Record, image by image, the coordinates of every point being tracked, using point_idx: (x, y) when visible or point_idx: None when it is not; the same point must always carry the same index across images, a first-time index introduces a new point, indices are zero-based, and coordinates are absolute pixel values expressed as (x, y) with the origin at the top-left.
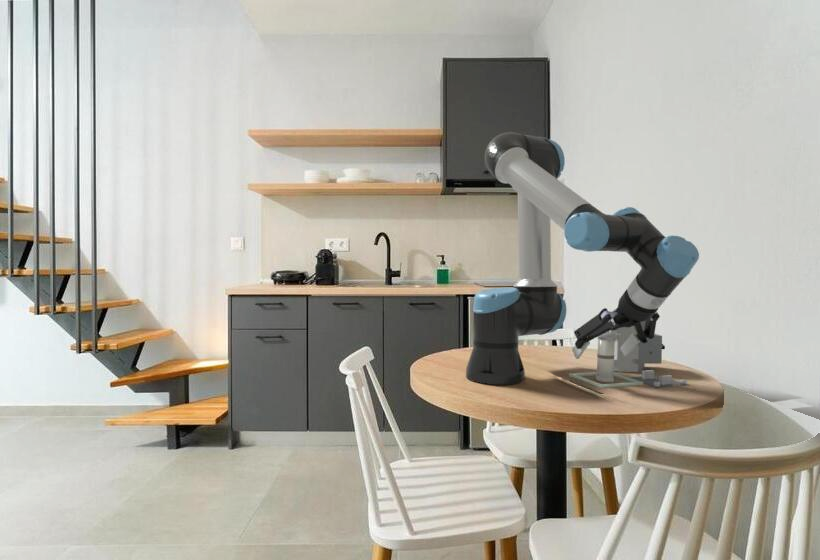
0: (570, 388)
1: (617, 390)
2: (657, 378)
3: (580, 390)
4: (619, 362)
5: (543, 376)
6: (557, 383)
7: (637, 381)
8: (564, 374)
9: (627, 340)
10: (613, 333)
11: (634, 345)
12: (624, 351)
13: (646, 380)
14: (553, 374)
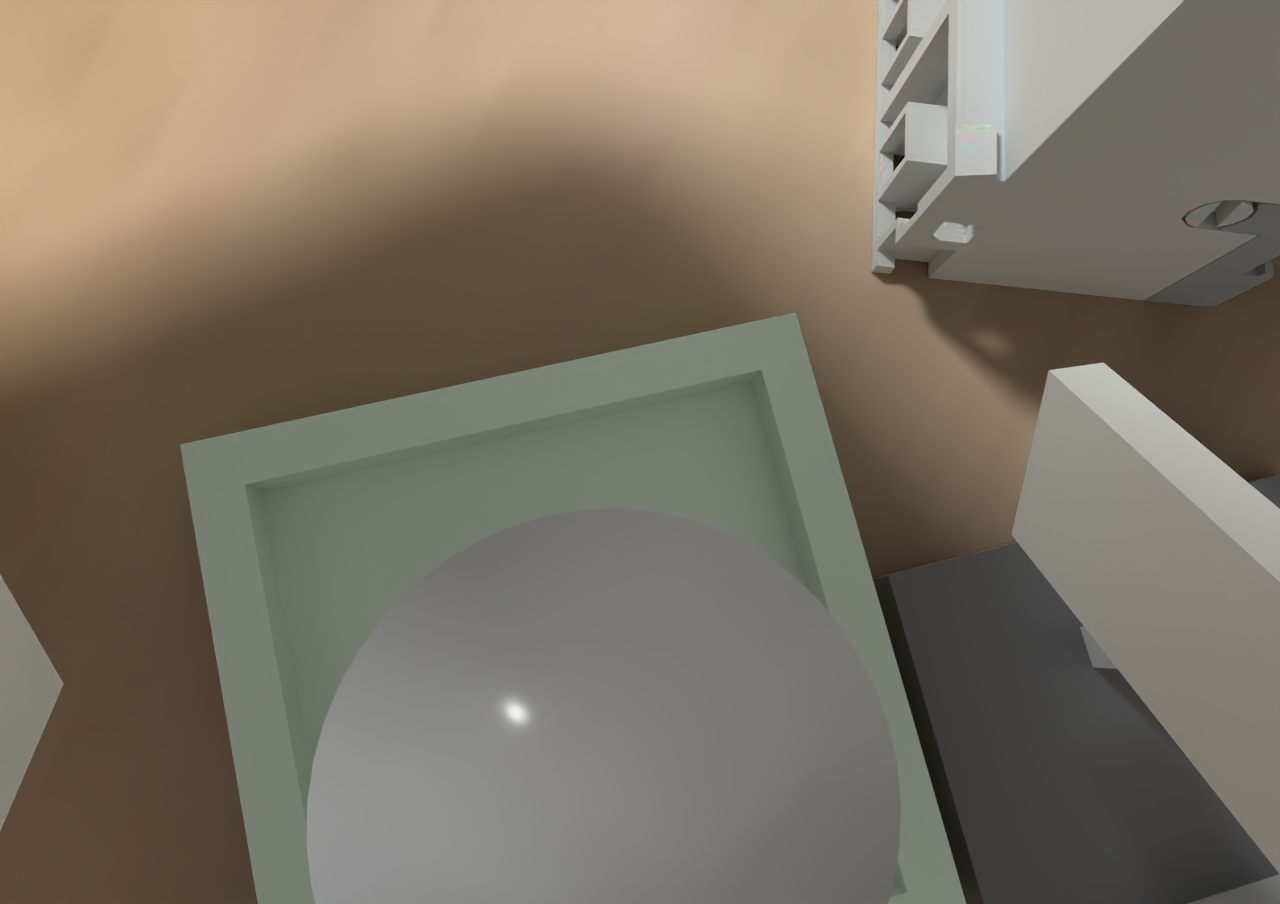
0: (75, 787)
1: None
2: None
3: (159, 886)
4: (1020, 199)
5: (15, 196)
6: (27, 539)
7: (917, 892)
8: (336, 120)
9: (1240, 574)
10: (876, 770)
11: (1254, 835)
12: (1056, 510)
13: (1092, 722)
14: (196, 111)
